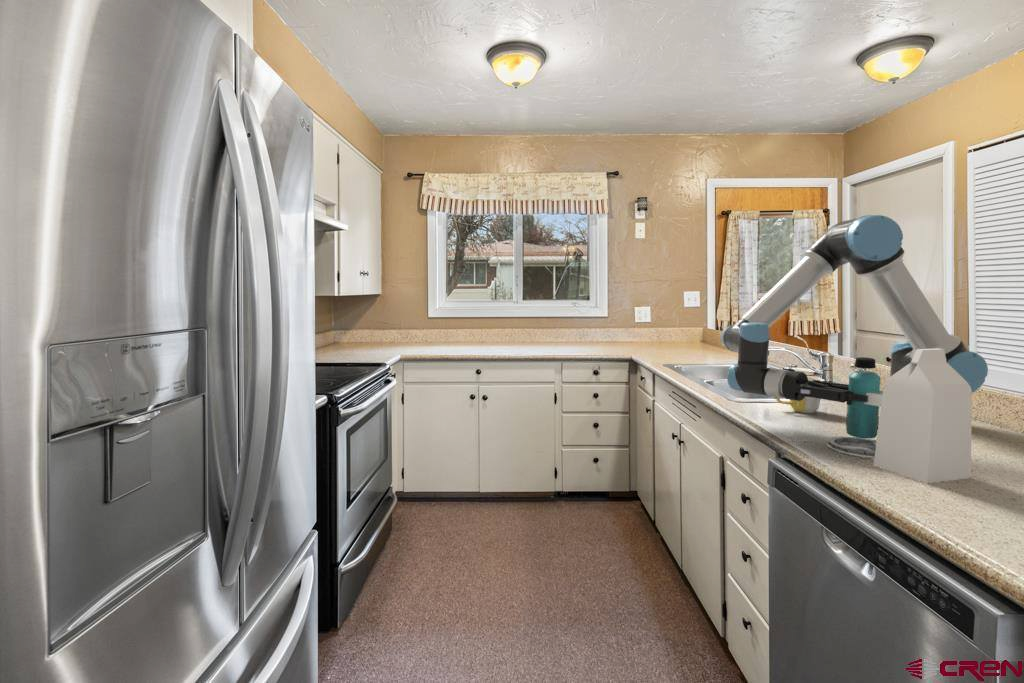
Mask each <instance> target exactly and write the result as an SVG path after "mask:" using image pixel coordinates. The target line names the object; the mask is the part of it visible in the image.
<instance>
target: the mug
mask: <svg viewBox="0 0 1024 683" xmlns="http://www.w3.org/2000/svg"><path fill="white" fill-rule="evenodd" d="M807 378H808V381H813V380H820V381H826V380H825V379H823V378H822V377H821V378H820V377H815V376H814V377H813V376H807ZM821 401H822V399H819V398H813V397H804V399H803V400H801V401H796V400H790V399H789V401H786V400H785V401H783V400H781V398H779V397H777V399H776V402H778V403H779V404H783V405H790V407H791V408H792V409H793V410H794V412H797V413H800V414H801V413H802V414H814V413H816V411H818V410H819V408H820V405H821Z"/></svg>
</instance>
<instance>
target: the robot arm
mask: <svg viewBox="0 0 1024 683" xmlns="http://www.w3.org/2000/svg"><path fill="white" fill-rule="evenodd" d="M903 239H904V235H903V231H902V228H901V226H900V225H899V224H898V223H897V221H895V220H894V219H892V218H890V217H888V216H886V215H881V214H876V215H875V214H871V215H870V214H869V215H863V216H860V217H857V218H854V219H849V220H844V221H840V222H837V223H835V224H834V225H832V226H831V227H830V228H829V229H827V230H826V231H825V232H824V233H823V234H821V236H819V237H818V238H817V240H815V241H814V243H812V244H811V245H810V247H808V248H807V249H805V251H804V253H803V258H802V259H801V260H799V262H797V264H796V265H795V266H793V268H791V270H790V271H788V272H787V273H786V274H785V275H784V276H783V277H782V279H780V280H779V281H778V282H777V283H775V285H774V286H773V287H772V288H771V289H770V290H769V291H768V292H767V293H766V294H765V295H763V297H762V298H761V299H760V300H758V301H757V302H756V303H755V304H754V305H753V306H752V307H751V308H750V309H749V310H748V311H747V312H746V313H745V314H744V315H743V316H742V317H741V318H739V320H738V321H736V322H735V324H734V325H729V326H727V327H726V328H724V329H723V330H722V332H721V335H720V340H721V343H722V345H723V346H724V347H725V348H726V349H727V350H729V351H730V352H733V353H735V352H736V353H737V354H738V355H737V356H738V357H737V363H734V364H732V365H731V366H730V367H729V369H728V372H727V374H726V375H727V376H726V380H727V384H728V387H730V388H731V389H732V390H734V391H738V392H739V391H740V392H743V393H745V394H746V393H747V394H755V395H760V396H768V397H772V398H773V399H774V400H777V397H779V398H780V399H786V400H789V401H790V400H796V401H801V400H803V399H804V397H813V398H819V399H821V400H826V401H832V402H839V403H843V404H844V403H846V406H848V405H851V401H852V400H854V401H861V402H864V404H867V405H873V406H879V408H881V404H882V396H883V389H880V391H879V394H876V393H866V395H858V394H853V393H852V391H849V384H846V383H838V382H832V381H827V380H825V381H820V380H813V381H808V378H807V377H808V376H807V374H806V373H805V372H802V371H796V370H795V371H794V370H788V369H782V368H776V367H775V368H772V367H771V368H770V367H768V360H769V359H768V358H769V344H770V343H769V342H770V336H771V335H770V327H771V326H773V324H775V323H776V322H777V321H778V320H779V319H780V318H781V317H782V316H783V315H784V314H786V312H788V311H789V309H790V308H792V307H793V306H794V305H795V304H796V303H797V302H798V301H799V300H800V299H801V298H802V297H804V295H805V294H806V293H807V292H809V291H810V290H811V288H813V287H814V286H815V285H817V283H818V282H820V280H822V278H824V276H825V275H828V276H829V275H832V274H833V273H834V272H835V271H836V270H837V269H839V268H840V267H842V266H843V265H846V264H848V263H849V264H850V265H851V267H852V268H853V270H854V271H855V273H856V274H857V276H861V277H866V278H867V279H868V281H869V283H870V285H872V287H873V289H874V291H875V292H876V294H877V295H878V296H879V298H880V300H881V301H882V303H883V304H884V306H885V307H886V309H887V311H888V312H889V314H890V315H891V317H892V318H893V320H894V321H895V323H896V324H897V326H898V327H899V329H900V331H901V333H903V335H904V337H905V338H906V341H896V342H895V343H894V344H893V345H892V349H891V354H890V356H891V359H890V360H891V362H890V371H889V372H890V376H889V378H890V377H891V376H892V375H894V374H895V373H896V372H898V371H899V370H901V369H902V368H904V367H905V366H906V365H908V364H909V363H911V361H912V358H913V356H914V354H915V352H916V350H917V349H936V348H938V349H944V351H945V356H946V362H947V363H948V364H949V365H950V366H951V367H952V368H953V369H954V370H955V371H956V372H957V373H958V374H959V375H960V376H961V377H962V378H963V379H965V381H966V382H967V383H968V384H969V386H970V387H971V390H972V393H974V392H976V391H978V390H979V389H980V388H981V387H982V386H983V385H984V383H985V381H986V377H988V373H989V367H988V363H987V362H986V360H985V358H984V356H982V355H980V354H978V353H976V352H974V351H969V350H968V348H967V347H966V345H965V343H964V342H963V341H962V339H961V338H960V337H959V336H958V335H953V334H949V331H948V330H947V329H946V327H945V326H944V324H943V322H942V321H941V319H940V318H939V316H938V315H937V313H936V312H935V310H934V309H933V307H932V305H931V304H930V302H929V301H928V299H927V298H926V296H925V294H924V293H923V291H922V289H920V286H919V285H918V284H917V282H916V281H915V279H914V277H913V275H912V274H911V272H910V271H909V270H908V268H907V267H906V265H905V263H904V262H903V258H904V255H905V250H904V249H903V247H902V244H903V242H902V240H903Z"/></svg>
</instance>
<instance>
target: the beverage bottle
mask: <svg viewBox="0 0 1024 683" xmlns="http://www.w3.org/2000/svg"><path fill="white" fill-rule="evenodd" d="M854 362H855V363H854V367H855V368H860V369H865V370H855V371H854V372H852V373H850V374H849V376H848V385H849V391H852V393H853V394H858V395H866V393H876V394H879V391H880V390H881V388H880V387H881V385H880V384H881V377H880V375H878V374H877V373H876V372H875V371H871V370H870V371H869V369H876V358H873V357H864V356H863V357H862V356H861V357H856V358H855V361H854ZM866 369H868V370H866ZM846 412H847V413H846V419H845V420H846V423H845V430H846V434H848V435H849V436H850V437H858V438H865V439H876V438H877V435H878V427H879V419H880V406H873V405H867V404H864V402H861V401H854V400H852V401H851V405H847V406H846Z"/></svg>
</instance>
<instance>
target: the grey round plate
mask: <svg viewBox="0 0 1024 683" xmlns="http://www.w3.org/2000/svg"><path fill="white" fill-rule="evenodd" d="M876 442H877V439H876V440H875V439H872V438H858V437H854V436H835V437H831V438H829V439H828V440H827V444H826V445H827V448H828V447H829V448H828V449H830V450H831V449H832V451H834V452H836V451H837V452H836V453H839V452H840V454H842V453H843V455H846V454H847V456H850V455H852V457H855V456H858V458H862V457H865V458H864V459H870V458H875V450H876Z"/></svg>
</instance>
